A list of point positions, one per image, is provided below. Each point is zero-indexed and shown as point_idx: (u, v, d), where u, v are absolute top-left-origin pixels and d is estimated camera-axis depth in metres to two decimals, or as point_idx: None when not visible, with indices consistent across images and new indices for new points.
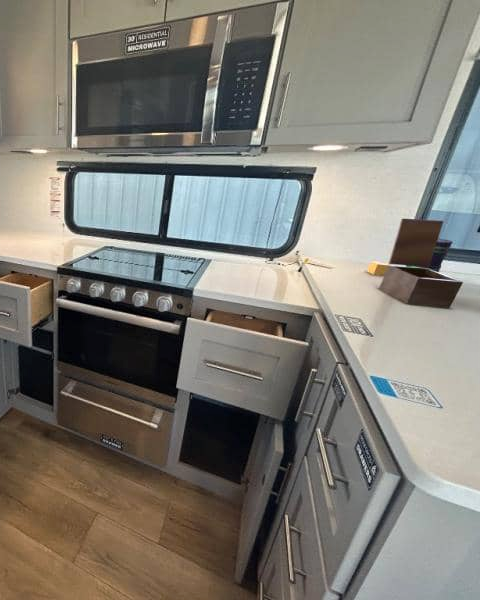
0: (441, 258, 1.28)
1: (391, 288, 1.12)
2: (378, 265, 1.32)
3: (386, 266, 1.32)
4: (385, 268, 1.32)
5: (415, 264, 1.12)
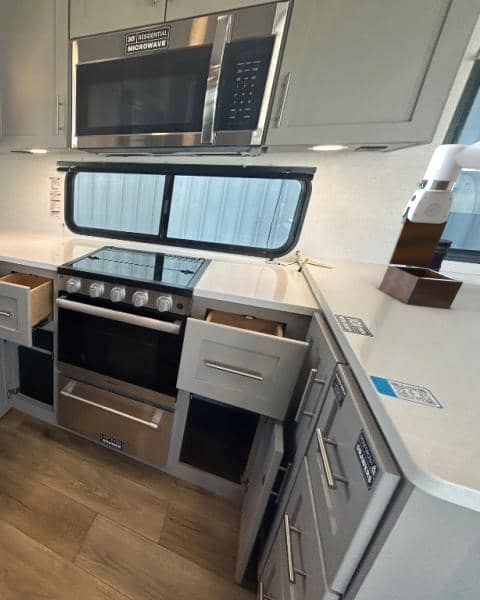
0: (441, 258, 1.28)
1: (391, 288, 1.12)
2: None
3: None
4: None
5: (415, 264, 1.12)
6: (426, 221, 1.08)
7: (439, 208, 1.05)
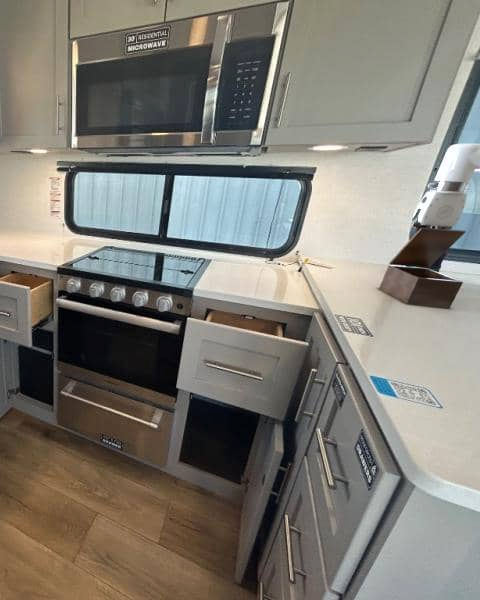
0: (441, 258, 1.28)
1: (391, 288, 1.12)
2: None
3: None
4: None
5: (415, 265, 1.12)
6: (437, 224, 1.03)
7: (451, 210, 1.01)
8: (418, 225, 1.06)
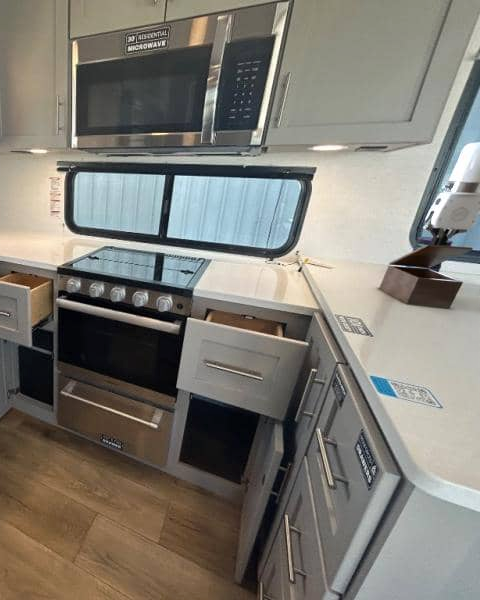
0: None
1: (391, 288, 1.12)
2: None
3: None
4: None
5: (415, 266, 1.12)
6: (452, 227, 0.98)
7: (467, 212, 0.96)
8: (431, 228, 1.01)
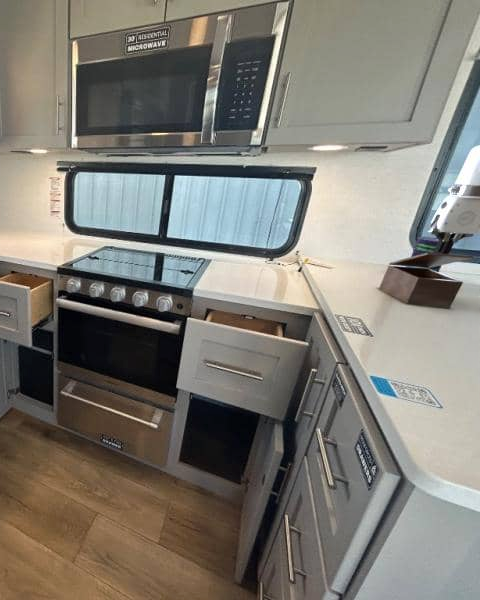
0: None
1: (391, 288, 1.12)
2: None
3: None
4: None
5: (415, 266, 1.12)
6: (458, 231, 0.96)
7: (473, 216, 0.94)
8: (436, 232, 0.99)
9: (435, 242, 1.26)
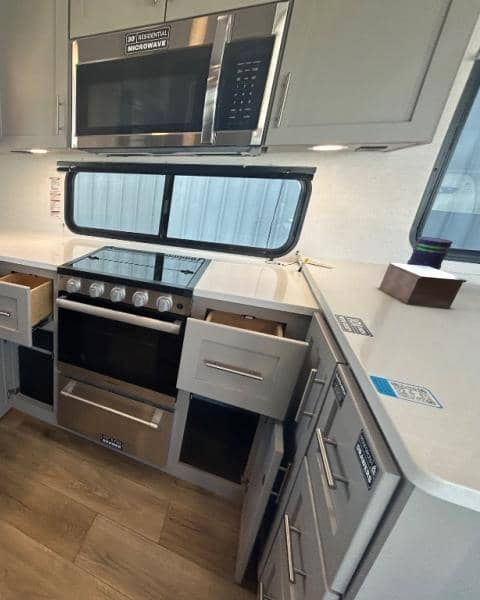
0: (441, 258, 1.28)
1: (391, 288, 1.12)
2: None
3: None
4: None
5: None
6: None
7: None
8: None
9: (435, 242, 1.26)
